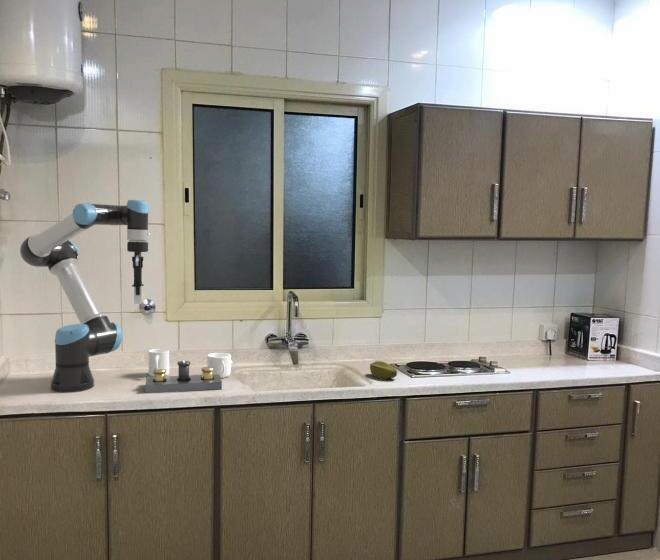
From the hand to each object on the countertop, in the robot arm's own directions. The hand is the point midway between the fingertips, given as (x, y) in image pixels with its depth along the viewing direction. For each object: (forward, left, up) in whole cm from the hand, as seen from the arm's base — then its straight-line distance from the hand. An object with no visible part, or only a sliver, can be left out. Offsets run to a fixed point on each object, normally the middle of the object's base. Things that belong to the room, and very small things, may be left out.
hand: (137, 303), depth 227 cm
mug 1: (+7, +17, -33) cm, 37 cm away
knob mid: (+17, -3, -29) cm, 34 cm away
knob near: (+8, -3, -32) cm, 33 cm away
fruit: (+100, -1, -33) cm, 105 cm away
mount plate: (+17, -3, -32) cm, 37 cm away
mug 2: (+32, +11, -33) cm, 47 cm away
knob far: (+26, -3, -32) cm, 41 cm away
